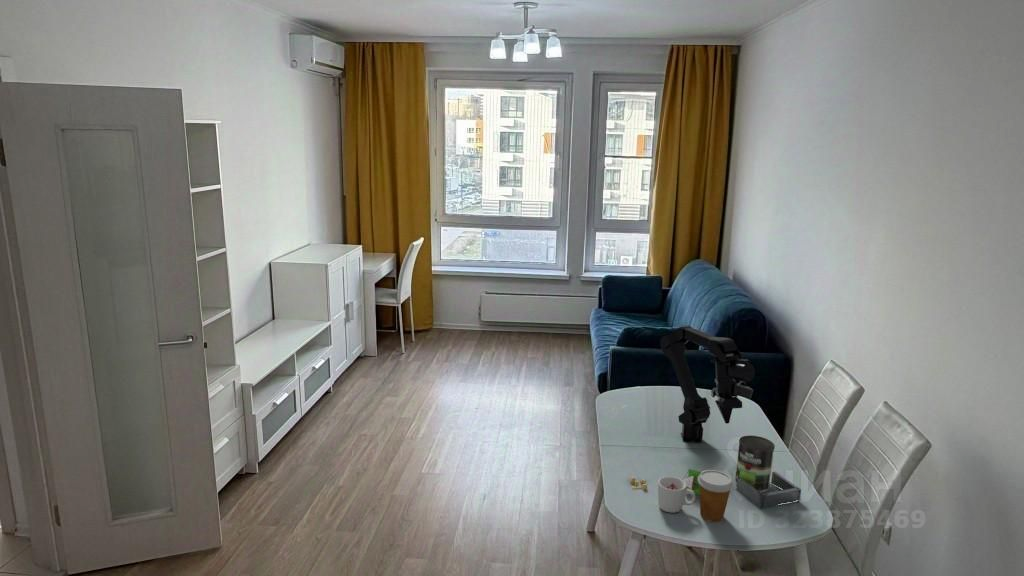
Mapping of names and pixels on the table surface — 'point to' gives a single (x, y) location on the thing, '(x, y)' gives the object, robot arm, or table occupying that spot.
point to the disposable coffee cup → (714, 494)
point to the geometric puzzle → (692, 481)
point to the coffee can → (755, 461)
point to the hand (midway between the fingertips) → (727, 423)
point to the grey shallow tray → (773, 498)
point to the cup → (673, 494)
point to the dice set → (638, 483)
